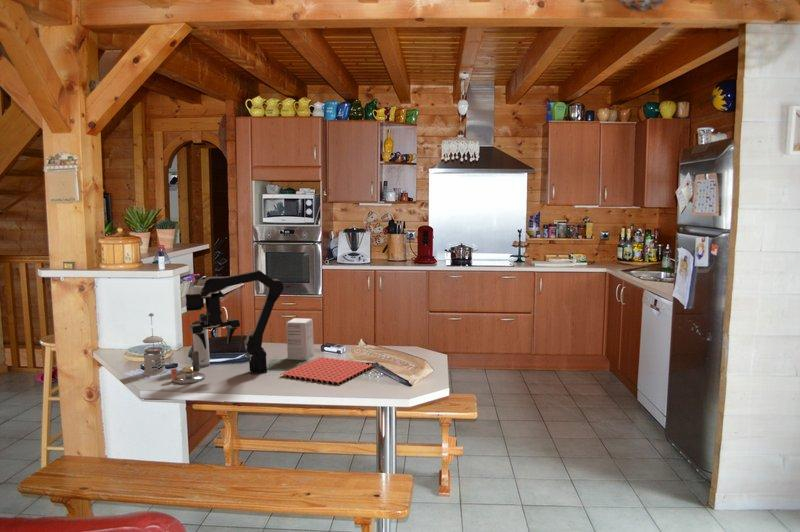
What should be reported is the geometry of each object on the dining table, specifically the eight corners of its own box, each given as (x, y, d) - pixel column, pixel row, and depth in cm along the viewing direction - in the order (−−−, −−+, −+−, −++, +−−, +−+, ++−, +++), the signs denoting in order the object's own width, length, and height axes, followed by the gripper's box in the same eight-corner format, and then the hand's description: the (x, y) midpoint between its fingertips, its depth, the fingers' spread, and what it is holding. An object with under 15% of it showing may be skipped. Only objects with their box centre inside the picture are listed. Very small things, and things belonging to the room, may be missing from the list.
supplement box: (295, 354, 277) (293, 317, 275) (314, 354, 275) (312, 318, 273) (287, 359, 268) (285, 322, 266) (307, 360, 266) (305, 322, 264)
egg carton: (279, 378, 242) (279, 373, 241) (320, 361, 266) (320, 356, 266) (338, 387, 229) (338, 382, 228) (375, 368, 253) (375, 363, 253)
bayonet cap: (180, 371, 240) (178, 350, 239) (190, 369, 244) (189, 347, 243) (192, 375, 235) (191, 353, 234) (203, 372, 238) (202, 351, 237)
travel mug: (206, 367, 257) (203, 321, 255) (191, 367, 259) (188, 321, 256) (213, 363, 263) (210, 318, 261) (199, 363, 265) (196, 318, 263)
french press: (137, 374, 250) (132, 314, 247) (157, 366, 261) (154, 309, 258) (155, 376, 246) (151, 316, 244) (175, 368, 257) (172, 310, 254)
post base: (204, 373, 249) (203, 361, 248) (205, 381, 237) (205, 369, 237) (171, 377, 244) (171, 365, 244) (171, 385, 233) (171, 373, 233)
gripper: (231, 302, 253) (234, 339, 255) (185, 309, 244) (188, 346, 246) (238, 306, 244) (242, 344, 246) (191, 313, 234) (194, 352, 236)
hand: (216, 346), depth 244 cm, fingers open, 9 cm apart
